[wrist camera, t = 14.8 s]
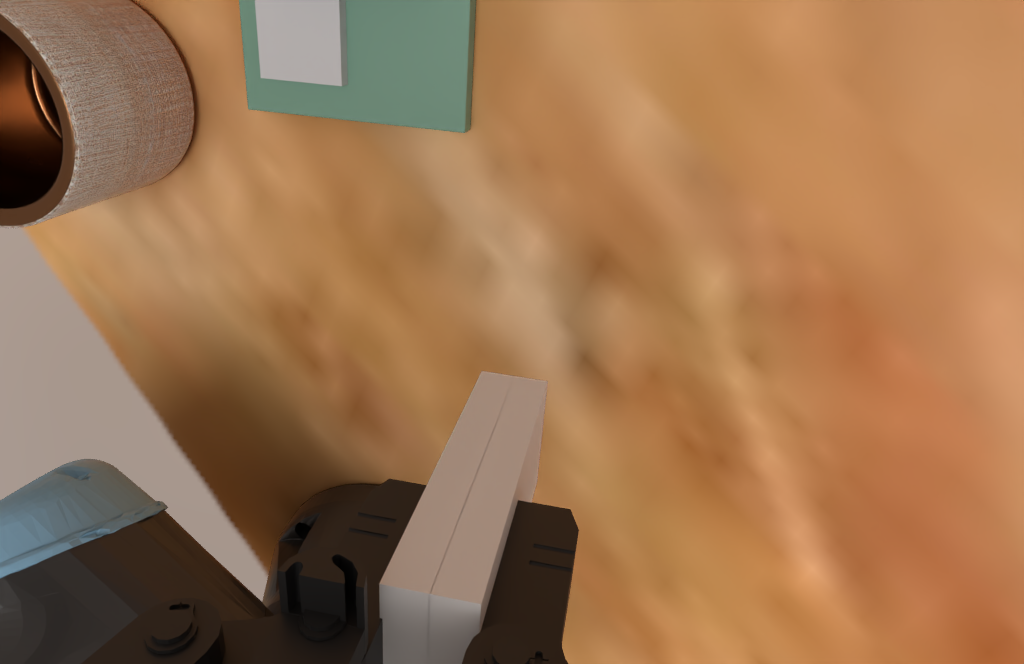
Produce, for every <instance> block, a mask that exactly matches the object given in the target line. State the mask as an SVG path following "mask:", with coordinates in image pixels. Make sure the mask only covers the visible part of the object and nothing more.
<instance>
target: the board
mask: <svg viewBox="0 0 1024 664" xmlns="http://www.w3.org/2000/svg"><path fill="white" fill-rule="evenodd" d="M239 6H240V18H241V29H242V41H243V53H244V65H245V76H246V88H247V100H248V109H250V110H260V111H269V112H278V113H287V114H296V115H305V116H315V117H324V118H333V119H342V120H351V121H360V122H370V123H379V124H388V125H397V126H406V127H416V128H425V129H434V130H443V131H452V132H461V133H465V132H467V131H468V130H470V125H471V102H472V80H473V57H474V35H475V13H476V0H239Z"/></svg>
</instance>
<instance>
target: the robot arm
mask: <svg viewBox="0 0 1024 664" xmlns="http://www.w3.org/2000/svg"><path fill="white" fill-rule="evenodd" d="M547 384H548V381H544V380H537V379H531V378H524V377H518V376H511V375H505V374H499V373H492V372H486V371H482V372H481V374H480V376H479V378H478V380H477V382H476V384H475V386H474V388H473V390H472V392H471V394H470V397H469V399H468V401H467V403H466V405H465V407H464V409H463V411H462V413H461V415H460V417H459V419H458V421H457V423H456V426H455V428H454V430H453V432H452V434H451V436H450V438H449V440H448V442H447V444H446V446H445V448H444V450H443V453H442V455H441V457H440V459H439V461H438V463H437V465H436V467H435V469H434V471H433V473H432V475H431V477H430V480H429V482H428V484H427V485H421V484H416V483H410V482H404V481H399V480H393V479H388V480H387V481H386V482H384V483H383V484H381V485H380V486H377V485H367V484H355V485H344V486H339V487H335V488H331V489H328V490H325V491H323V492H321V493H319V494H317V495H315V496H313V497H312V498H310V499H309V500H308V501H306V502H305V503H304V504H303V505H302V506H301V507H300V508H299V509H298V511H297V512H296V513H295V515H294V516H293V518H292V519H291V520H290V522H289V523H288V525H287V526H286V528H285V529H284V530H283V532H282V534H281V536H280V538H279V540H278V542H277V544H276V547H275V550H274V554H273V559H272V563H271V567H270V571H269V576H268V580H267V584H266V589H265V593H264V597H263V602H261V601H260V600H259V599H258V598H257V597H256V596H255V595H254V594H253V593H252V592H250V591H249V590H248V589H247V588H246V587H245V586H244V585H243V584H242V583H241V582H240V581H239V580H237V579H236V578H235V577H234V576H233V575H232V574H231V573H230V572H229V571H228V570H227V569H226V568H225V567H223V566H222V565H221V564H220V563H219V562H218V561H217V560H216V559H215V558H214V557H213V556H212V555H211V554H209V553H208V552H207V551H206V550H205V549H204V548H203V547H202V546H201V545H200V544H199V543H198V542H197V541H196V540H195V539H194V538H193V537H192V536H191V535H190V534H188V533H187V532H186V531H185V530H184V529H183V528H182V527H181V526H180V525H179V524H178V523H177V522H176V521H175V520H174V519H173V518H172V517H171V516H170V515H169V514H168V513H167V512H166V511H165V509H167V508H168V507H167V506H166V505H165V504H164V503H163V502H160V501H155V500H154V499H152V498H151V497H150V496H149V495H148V494H147V493H145V492H144V491H143V490H142V489H141V488H139V487H138V486H137V485H136V484H135V483H133V482H132V481H131V480H130V479H129V478H128V477H126V476H125V475H124V474H122V472H120V471H119V470H118V469H117V468H115V467H114V466H112V465H111V464H108V463H106V462H104V461H100V460H95V459H83V460H77V461H73V462H70V463H67V464H64V465H62V466H60V467H58V468H56V469H54V470H52V471H50V472H48V473H47V474H45V475H43V476H41V477H39V478H38V479H36V480H34V481H32V482H31V483H29V484H27V485H26V486H24V487H22V488H20V489H19V490H17V491H15V492H14V493H12V494H10V495H9V496H7V497H5V498H4V499H2V500H0V664H568V663H567V661H566V659H565V657H564V653H563V650H562V639H563V632H564V626H565V620H566V613H567V607H568V600H569V594H570V587H571V580H572V573H573V566H574V559H575V552H576V545H577V538H578V531H579V530H578V527H577V525H576V522H575V520H574V517H573V515H572V512H571V510H570V509H565V508H559V507H554V506H548V505H542V504H537V503H532V499H533V495H534V491H535V488H536V484H537V478H538V469H539V460H540V450H541V441H542V431H543V422H544V412H545V403H546V394H547Z"/></svg>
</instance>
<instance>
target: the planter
mask: <svg viewBox="0 0 1024 664" xmlns="http://www.w3.org/2000/svg"><path fill="white" fill-rule="evenodd" d="M193 128H194V99H193V93H192V87H191V84H190V80H189V77H188V74H187V71H186V69H185V66H184V63H183V61H182V59H181V57H180V55H179V53H178V51H177V50H176V48H175V46H174V45H173V43H172V42H171V40H170V39H169V37H168V36H167V34H166V33H165V32H164V31H163V29H162V28H161V27H160V26H159V25H158V24H157V22H156V21H155V20H154V19H153V18H152V17H151V16H149V15H148V14H147V13H146V12H145V11H144V10H143V9H141V8H140V7H139V6H137V5H136V4H135V3H133V2H131V1H130V0H0V227H3V228H20V227H27V226H31V225H35V224H38V223H41V222H43V221H46V220H49V219H52V218H54V217H57V216H60V215H63V214H66V213H68V212H71V211H74V210H77V209H80V208H83V207H86V206H89V205H92V204H95V203H97V202H100V201H103V200H106V199H109V198H112V197H115V196H118V195H121V194H124V193H127V192H130V191H133V190H136V189H139V188H142V187H144V186H147V185H150V184H152V183H154V182H156V181H158V180H160V179H161V178H163V177H164V176H166V175H167V174H168V173H170V172H171V171H172V170H173V169H174V168H175V167H176V166H177V165H178V164H179V163H180V161H181V160H182V158H183V157H184V155H185V153H186V151H187V149H188V147H189V144H190V141H191V137H192V133H193Z"/></svg>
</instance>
